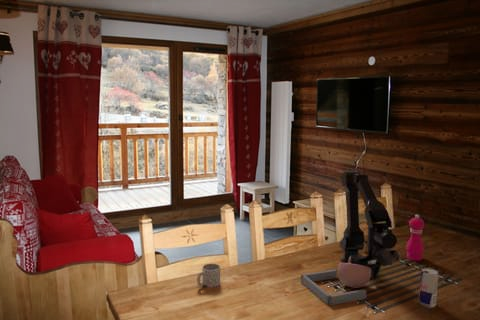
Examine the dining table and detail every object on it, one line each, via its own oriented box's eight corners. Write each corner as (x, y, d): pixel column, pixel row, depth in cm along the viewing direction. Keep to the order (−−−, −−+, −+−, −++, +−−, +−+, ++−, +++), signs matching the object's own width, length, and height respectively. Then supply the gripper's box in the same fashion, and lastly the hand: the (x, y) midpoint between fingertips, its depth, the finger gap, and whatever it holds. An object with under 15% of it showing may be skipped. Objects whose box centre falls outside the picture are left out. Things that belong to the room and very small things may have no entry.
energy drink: (415, 300, 143) (418, 268, 142) (430, 300, 144) (432, 267, 142) (423, 308, 138) (426, 274, 136) (438, 307, 139) (441, 274, 137)
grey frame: (300, 282, 157) (301, 274, 157) (334, 276, 163) (335, 269, 162) (328, 305, 139) (328, 297, 139) (365, 298, 145) (366, 290, 144)
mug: (212, 278, 160) (212, 262, 159) (223, 283, 155) (223, 267, 154) (191, 286, 153) (191, 269, 152) (203, 292, 148) (203, 274, 148)
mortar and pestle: (371, 281, 158) (372, 253, 156) (369, 296, 147) (370, 265, 145) (339, 277, 162) (340, 249, 160) (335, 290, 151) (336, 261, 149)
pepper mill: (424, 261, 179) (428, 217, 176) (407, 260, 180) (410, 216, 177) (420, 255, 186) (424, 212, 183) (404, 254, 187) (407, 211, 184)
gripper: (368, 249, 144) (367, 292, 146) (410, 243, 151) (408, 283, 153) (349, 240, 154) (348, 279, 156) (389, 234, 161) (387, 272, 163)
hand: (373, 279), depth 157 cm, fingers closed
